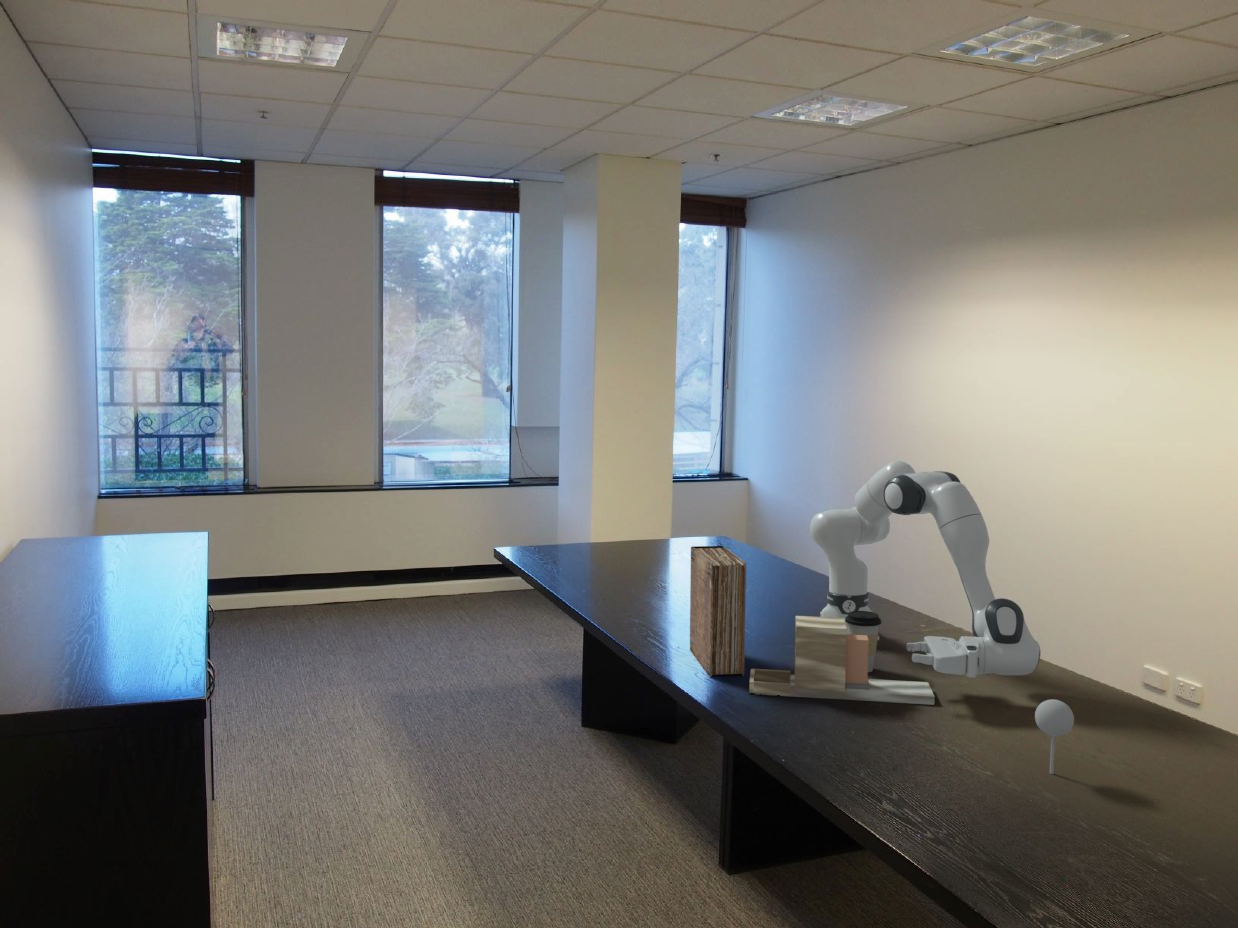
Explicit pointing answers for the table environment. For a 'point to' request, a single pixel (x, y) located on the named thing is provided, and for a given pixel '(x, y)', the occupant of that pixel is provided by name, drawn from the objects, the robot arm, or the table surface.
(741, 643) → the book
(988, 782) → the table surface
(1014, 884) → the table surface
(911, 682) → the tunnel track
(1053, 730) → the lollipop
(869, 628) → the coffee cup
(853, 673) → the block
